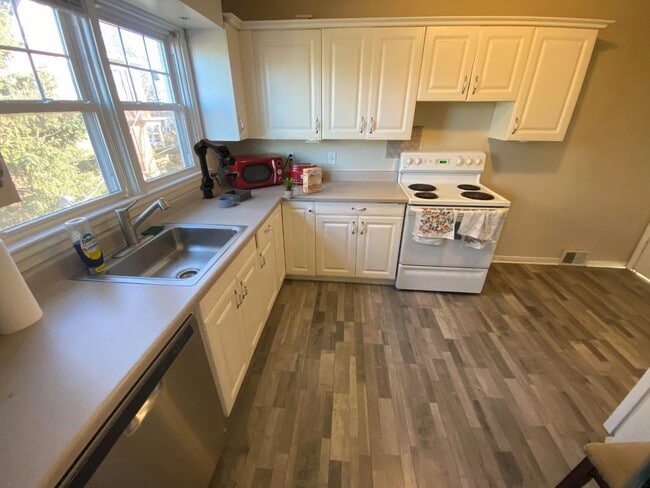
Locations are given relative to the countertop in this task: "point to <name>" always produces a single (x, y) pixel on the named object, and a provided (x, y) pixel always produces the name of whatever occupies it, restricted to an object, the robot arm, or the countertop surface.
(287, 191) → the house plant
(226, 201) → the rice bowl
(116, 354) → the countertop surface
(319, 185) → the coffeecake box
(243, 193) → the tote
